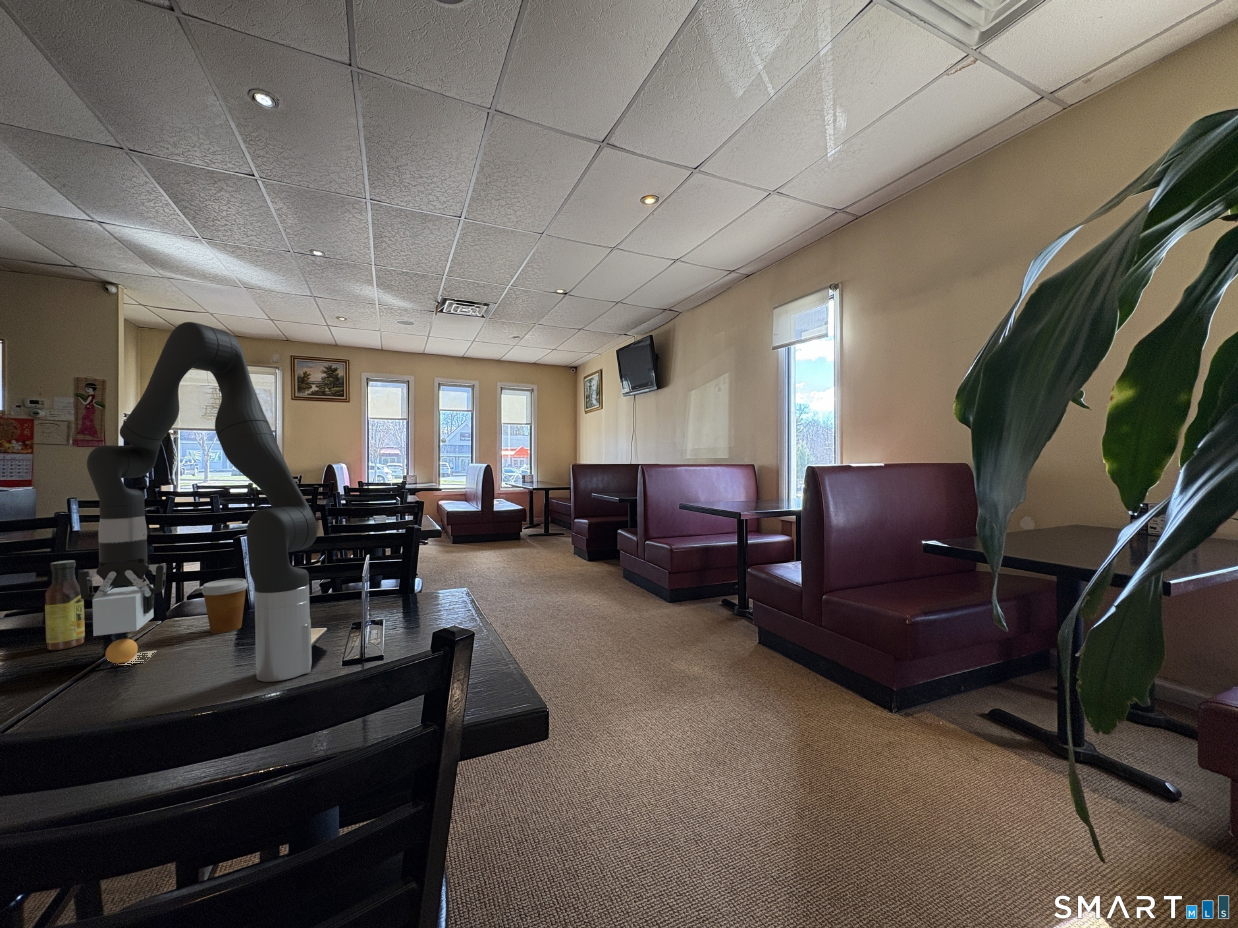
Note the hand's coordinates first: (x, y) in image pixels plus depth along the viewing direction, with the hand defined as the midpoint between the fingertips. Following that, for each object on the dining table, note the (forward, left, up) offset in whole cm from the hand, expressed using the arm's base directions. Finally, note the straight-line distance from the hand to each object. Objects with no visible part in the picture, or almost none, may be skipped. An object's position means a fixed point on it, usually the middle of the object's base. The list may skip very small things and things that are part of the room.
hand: (125, 614), depth 113 cm
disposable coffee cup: (-15, -15, -10) cm, 23 cm away
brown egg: (0, +1, -7) cm, 7 cm away
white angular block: (0, 0, -2) cm, 2 cm away
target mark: (0, 0, -10) cm, 10 cm away
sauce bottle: (+16, -19, -10) cm, 27 cm away
